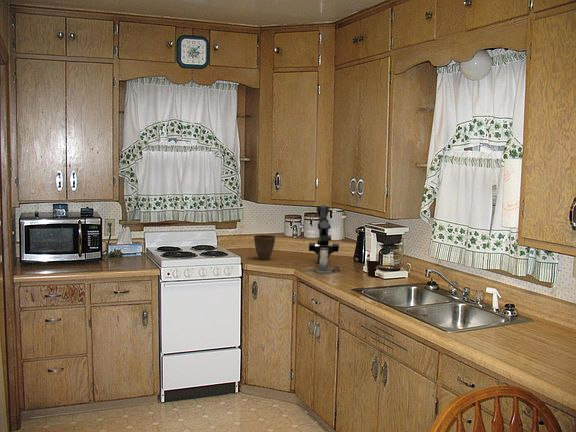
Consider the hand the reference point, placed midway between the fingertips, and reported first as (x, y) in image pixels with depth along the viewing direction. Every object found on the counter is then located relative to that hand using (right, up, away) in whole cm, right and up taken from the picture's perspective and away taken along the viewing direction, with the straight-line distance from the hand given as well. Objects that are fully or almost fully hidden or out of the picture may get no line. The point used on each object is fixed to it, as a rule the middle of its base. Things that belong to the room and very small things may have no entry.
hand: (323, 258), depth 370 cm
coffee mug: (+31, -11, -6) cm, 33 cm away
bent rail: (+8, -9, +6) cm, 14 cm away
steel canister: (0, -6, +2) cm, 7 cm away
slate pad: (0, -9, +2) cm, 9 cm away
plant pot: (-39, -4, +43) cm, 58 cm away
